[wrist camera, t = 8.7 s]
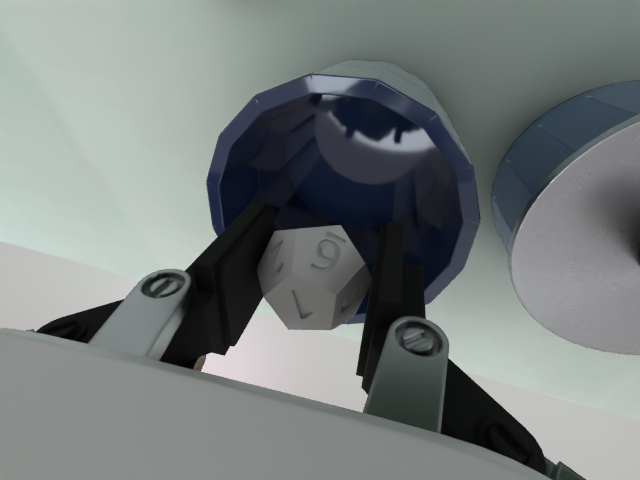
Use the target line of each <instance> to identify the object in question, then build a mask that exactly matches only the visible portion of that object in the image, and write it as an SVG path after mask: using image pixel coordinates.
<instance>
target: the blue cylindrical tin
mask: <svg viewBox="0 0 640 480" xmlns="http://www.w3.org/2000/svg"><path fill="white" fill-rule="evenodd" d="M639 114H640V81H639V80H637V81H631V82H622V83H617V84H612V85H608V86H603V87H600V88H597V89H594V90H591V91H588V92H585V93H582V94H580V95H578V96H576V97H574V98H571V99H569V100H567V101H565V102H564V103H562V104H560V105H558V106H557V107H555V108H553V109H552V110H550V111H549V112H547V113H546V114H545V115H543V116H542V117H540V118H539V119H538V120H537V121H535V122H534V123H533V124H532V125H531V126H530V127H528V128H527V129H526V130H525V131H524V132H523V134H522V135H521V136H520V137H519V138H518V139H517V140H516V141H515V143H514V144H513V145H512V147H511V148H510V149H509V150H508V152H507V154H506V155H505V157H504V159H503V160H502V162H501V164H500V166H499V169H498V171H497V173H496V176H495V180H494V184H493V189H492V210H493V215H494V219H495V226H496V228H497V230H498V232H499V234H500V237H501V239H502V241H503V243H504V245H505V247H506V250H507V252H508V251H509V245H510V239H511V236H512V233H513V230H514V227H515V224H516V222H517V220H518V218H519V216H520V214H521V212H522V210H523V208H524V206H525V205H526V203H527V202H528V200H529V199H530V198H531V196H532V195H533V193H534V192H535V190H536V189H537V188H538V187H539V186H540V185H541V183H542V182H543V181H544V180H545V179H546V178H547V177H548V175H549V174H550V173H551V172H553V171H554V170H555V169H556V168H557V167H558V166H559V165H560V164H561V163H562V162H563V161H564V160H566V159H567V158H568V157H569V156H571V155H572V154H573V153H575V152H576V151H577V150H579V149H580V148H581V147H582V146H584V145H585V144H586V143H588V142H590V141H591V140H593V139H594V138H596V137H598V136H599V135H601V134H602V133H604V132H606V131H607V130H609V129H610V128H612V127H614V126H616V125H618V124H620V123H622V122H624V121H626V120H628V119H630V118H632V117H634V116H636V115H639Z"/></svg>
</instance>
